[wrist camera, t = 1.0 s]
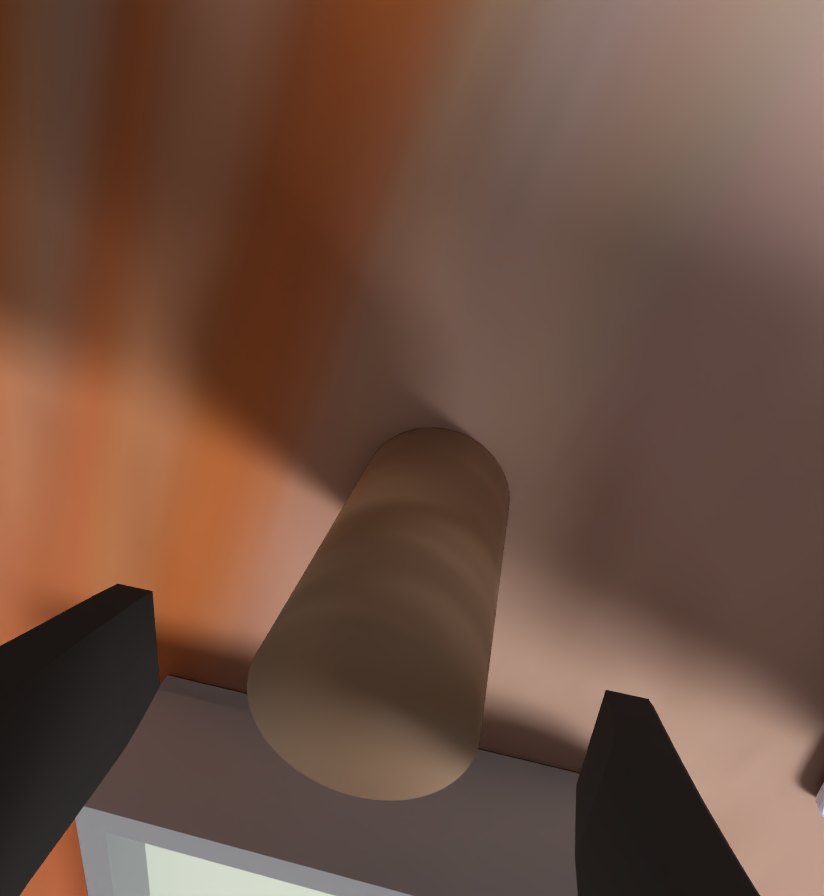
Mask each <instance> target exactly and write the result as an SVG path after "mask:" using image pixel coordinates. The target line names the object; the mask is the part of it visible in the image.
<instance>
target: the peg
mask: <svg viewBox="0 0 824 896" xmlns="http://www.w3.org/2000/svg"><path fill="white" fill-rule="evenodd" d="M508 510H509V489H508V483H507V480H506V477H505V475H504V473H503V471H502V469H501V467H500V465H499V464H498V462H497V461H496V459H495V458H494V457H493V456H492V455H491V454H490V452H489V451H488V450H486V449H485V448H484V447H483V446H482V445H480V444H479V443H478V442H476V441H475V440H473V439H471V438H469V437H467V436H465V435H463V434H460V433H458V432H455V431H451V430H447V429H441V428H420V429H414V430H410V431H407V432H404V433H402V434H399V435H397V436H395V437H394V438H392V439H390V440H389V441H387V442H386V443H385V444H384V445H382V447H381V448H380V449H379V450H378V451H377V452H376V453H375V455H374V456H373V458H372V459H371V461H370V463H369V464H368V466H367V468H366V469H365V471H364V473H363V474H362V476H361V478H360V479H359V481H358V483H357V484H356V486H355V488H354V490H353V491H352V493H351V495H350V496H349V498H348V500H347V501H346V503H345V505H344V506H343V508H342V510H341V511H340V513H339V515H338V517H337V518H336V520H335V522H334V523H333V525H332V527H331V528H330V530H329V532H328V533H327V535H326V537H325V538H324V540H323V542H322V544H321V545H320V547H319V549H318V550H317V552H316V554H315V555H314V557H313V559H312V560H311V562H310V564H309V565H308V567H307V569H306V570H305V572H304V574H303V576H302V577H301V579H300V581H299V582H298V584H297V586H296V587H295V589H294V591H293V592H292V594H291V596H290V597H289V599H288V601H287V603H286V604H285V606H284V608H283V609H282V611H281V613H280V614H279V616H278V618H277V619H276V621H275V623H274V624H273V626H272V628H271V630H270V631H269V633H268V635H267V636H266V638H265V640H264V641H263V643H262V645H261V646H260V648H259V650H258V651H257V653H256V655H255V657H254V659H253V661H252V663H251V665H250V669H249V673H248V678H247V697H248V703H249V707H250V711H251V713H252V716H253V718H254V721H255V723H256V725H257V727H258V729H259V730H260V732H261V734H262V735H263V737H264V738H265V739H266V741H267V742H268V744H269V745H270V746H271V747H272V748H273V749H274V750H275V752H276V753H277V754H278V755H279V756H280V757H282V758H283V759H284V760H285V761H286V762H287V763H288V764H289V765H291V766H292V767H293V768H295V769H296V770H297V771H299V772H300V773H302V774H303V775H305V776H307V777H308V778H310V779H311V780H313V781H315V782H317V783H319V784H321V785H323V786H325V787H328V788H330V789H333V790H336V791H338V792H341V793H345V794H348V795H351V796H356V797H360V798H365V799H373V800H388V801H396V800H408V799H413V798H418V797H423V796H426V795H429V794H432V793H435V792H437V791H439V790H441V789H443V788H445V787H447V786H448V785H450V784H451V783H453V782H454V781H456V780H457V779H458V778H459V777H460V776H461V775H462V774H463V773H464V772H465V771H466V770H467V768H468V767H469V766H470V764H471V763H472V761H473V759H474V757H475V755H476V753H477V750H478V746H479V743H480V736H481V728H482V720H483V711H484V703H485V695H486V687H487V679H488V671H489V663H490V655H491V647H492V639H493V631H494V623H495V615H496V607H497V599H498V591H499V582H500V574H501V566H502V558H503V550H504V542H505V534H506V526H507V518H508Z"/></svg>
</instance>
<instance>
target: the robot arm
mask: <svg viewBox="0 0 824 896" xmlns="http://www.w3.org/2000/svg"><path fill="white" fill-rule="evenodd" d="M159 687H160V683H159V670H158V657H157V644H156V631H155V618H154V605H153V592H152V591H149V590H144V589H140V588H135V587H130V586H126V585H121V584H116V585H114V586H112V587H110V588H108V589H106V590H104V591H102V592H100V593H98V594H96V595H94V596H92V597H91V598H89V599H87V600H85V601H83V602H81V603H79V604H78V605H76V606H74V607H72V608H70V609H68V610H66V611H65V612H63V613H61V614H59V615H57V616H55V617H54V618H52V619H50V620H48V621H46V622H44V623H43V624H41V625H39V626H37V627H35V628H33V629H31V630H30V631H28V632H26V633H24V634H22V635H20V636H18V637H16V638H15V639H13V640H11V641H9V642H7V643H5V644H3V645H1V646H0V896H20V894H21V893H22V891H23V890H24V888H25V887H26V885H27V884H28V882H29V881H30V880H31V878H32V877H33V875H34V874H35V873H36V871H37V870H38V869H39V867H40V866H41V864H42V863H43V862H44V860H45V859H46V858H47V856H48V855H49V853H50V852H51V851H52V849H53V848H54V847H55V845H56V844H57V842H58V841H59V840H60V838H61V837H62V836H63V834H64V833H65V831H66V830H67V829H68V827H69V826H70V824H71V823H72V822H73V820H74V819H75V818H76V816H77V815H78V813H79V812H80V811H81V809H82V808H83V807H84V805H85V804H86V802H87V801H88V800H89V798H90V797H91V796H92V794H93V793H94V791H95V790H96V789H97V787H98V786H99V784H100V783H101V782H102V780H103V779H104V777H105V776H106V775H107V773H108V772H109V770H110V769H111V768H112V766H113V765H114V763H115V762H116V761H117V759H118V758H119V756H120V755H121V753H122V752H123V751H124V749H125V748H126V746H127V745H128V743H129V741H130V740H131V738H132V736H133V734H134V733H135V731H136V729H137V727H138V726H139V724H140V722H141V720H142V719H143V717H144V715H145V713H146V711H147V709H148V707H149V706H150V704H151V702H152V700H153V698H154V696H155V694H156V693H157V691H158V689H159ZM816 803H817V806H818V808H819V811H820V813H821V815H822V817H823V818H824V783H823V785H822V787H821V788H820V790H819V792H818V794H817V796H816ZM575 866H576V879H577V891H578V896H760V895H759V893H758V892H757V890H756V888H755V887H754V885H753V884H752V882H751V880H750V879H749V877H748V876H747V874H746V872H745V871H744V869H743V867H742V866H741V864H740V863H739V861H738V859H737V858H736V856H735V854H734V853H733V851H732V849H731V847H730V846H729V844H728V842H727V841H726V839H725V837H724V836H723V834H722V832H721V830H720V829H719V827H718V825H717V824H716V822H715V820H714V818H713V817H712V815H711V813H710V812H709V810H708V808H707V806H706V805H705V803H704V801H703V799H702V798H701V796H700V794H699V792H698V790H697V789H696V787H695V785H694V783H693V781H692V779H691V777H690V776H689V774H688V772H687V770H686V768H685V766H684V765H683V763H682V761H681V759H680V757H679V755H678V753H677V751H676V749H675V748H674V746H673V744H672V742H671V740H670V738H669V736H668V734H667V732H666V730H665V728H664V726H663V724H662V722H661V720H660V718H659V716H658V714H657V712H656V710H655V708H654V707H653V705H652V704H651V702H650V701H649V699H646V698H641V697H636V696H632V695H627V694H623V693H618V692H613V691H609V690H606V691H605V694H604V698H603V701H602V704H601V707H600V710H599V714H598V717H597V720H596V723H595V727H594V730H593V733H592V736H591V739H590V743H589V746H588V749H587V752H586V755H585V759H584V762H583V765H582V768H581V772H580V775H579V778H578V781H577V784H576V815H575Z"/></svg>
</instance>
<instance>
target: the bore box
mask: <svg viewBox="0 0 824 896" xmlns="http://www.w3.org/2000/svg"><path fill="white" fill-rule="evenodd" d="M579 775H580V773H575V772H571V771H567V770H563V769H559V768H554V767H550V766H546V765H542V764H538V763H533V762H529V761H525V760H521V759H517V758H513V757H508V756H504V755H500V754H496V753H492V752H487V751H483V750H479V749H478V750H477V753H476V755H475V757H474V759H473V761H472V763H471V764H470V766H469V767H468V768H467V770H466V771H465V772H464V773H463V774H462V775H461V776H460V777H459V778H458V779H457V780H456V781H454V782H453V783H451V784H450V785H448V786H447V787H445V788H443V789H441V790H439V791H437V792H435V793H432V794H429V795H426V796H423V797H418V798H413V799H408V800H396V801H388V800H373V799H365V798H360V797H356V796H351V795H348V794H345V793H341V792H338V791H336V790H333V789H330V788H328V787H325V786H323V785H321V784H319V783H317V782H315V781H313V780H311V779H310V778H308V777H307V776H305V775H303V774H302V773H300V772H299V771H297V770H296V769H295V768H293V767H292V766H291V765H289V764H288V763H287V762H286V761H285V760H284V759H283V758H282V757H280V756H279V755H278V754H277V753H276V752H275V750H274V749H273V748H272V747H271V746H270V745H269V744H268V742H267V741H266V739H265V738H264V737H263V735H262V734H261V732H260V730H259V729H258V727H257V725H256V723H255V721H254V718H253V716H252V713H251V711H250V707H249V703H248V697H247V694H244V693H240V692H236V691H232V690H227V689H223V688H219V687H215V686H211V685H206V684H202V683H198V682H194V681H190V680H186V679H181V678H177V677H173V676H169V675H167V676H166V678H165V679H164V680H163V682H162V683H161V684H160V687H159V689H158V691H157V693H156V694H155V696H154V698H153V700H152V702H151V704H150V706H149V707H148V709H147V711H146V713H145V715H144V717H143V719H142V720H141V722H140V724H139V726H138V727H137V729H136V731H135V733H134V734H133V736H132V738H131V740H130V741H129V743H128V745H127V746H126V748H125V749H124V751H123V752H122V753H121V755H120V756H119V758H118V759H117V761H116V762H115V763H114V765H113V766H112V768H111V769H110V770H109V772H108V773H107V775H106V776H105V777H104V779H103V780H102V782H101V783H100V784H99V786H98V787H97V789H96V790H95V791H94V793H93V794H92V796H91V797H90V798H89V800H88V801H87V802H86V804H85V805H84V807H83V808H82V809H81V811H80V812H79V813H78V815H77V816H76V818H75V820H76V826H77V832H78V838H79V844H80V850H81V856H82V861H83V867H84V873H85V879H86V885H87V891H88V896H578V891H577V879H576V866H575V815H576V784H577V781H578V778H579Z"/></svg>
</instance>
